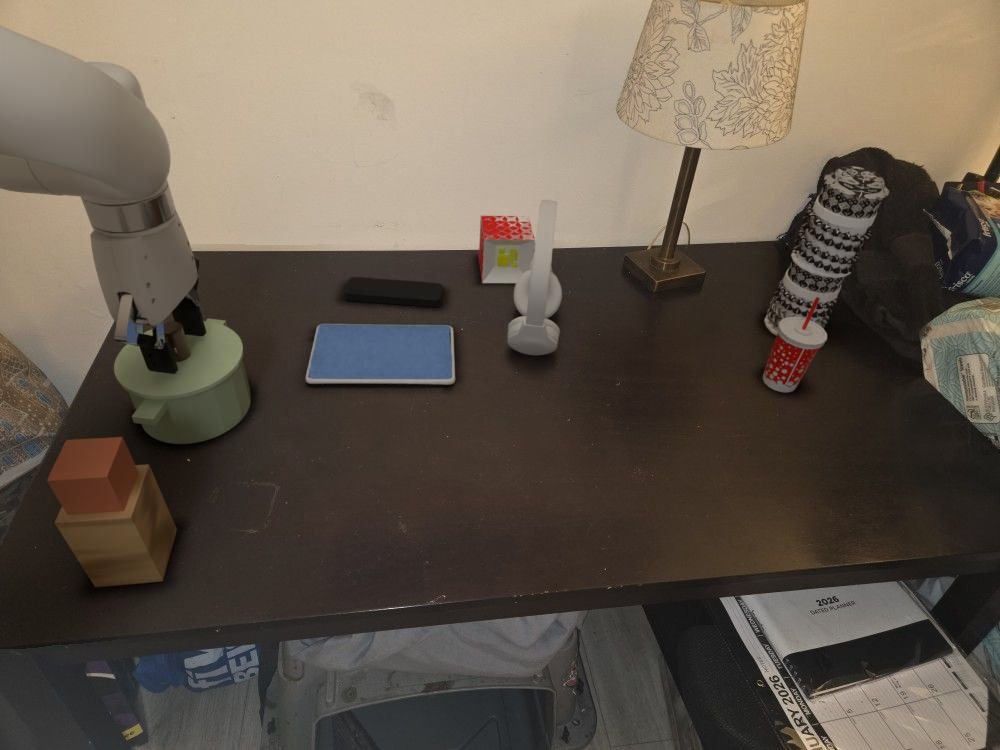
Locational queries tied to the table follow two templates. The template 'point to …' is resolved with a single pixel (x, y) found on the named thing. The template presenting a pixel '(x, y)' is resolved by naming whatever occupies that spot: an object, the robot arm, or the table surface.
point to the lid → (182, 363)
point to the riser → (124, 537)
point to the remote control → (394, 292)
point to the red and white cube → (505, 248)
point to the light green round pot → (195, 410)
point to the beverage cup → (793, 351)
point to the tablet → (382, 354)
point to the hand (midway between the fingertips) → (178, 350)
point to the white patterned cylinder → (828, 245)
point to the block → (93, 475)
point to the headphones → (538, 293)
